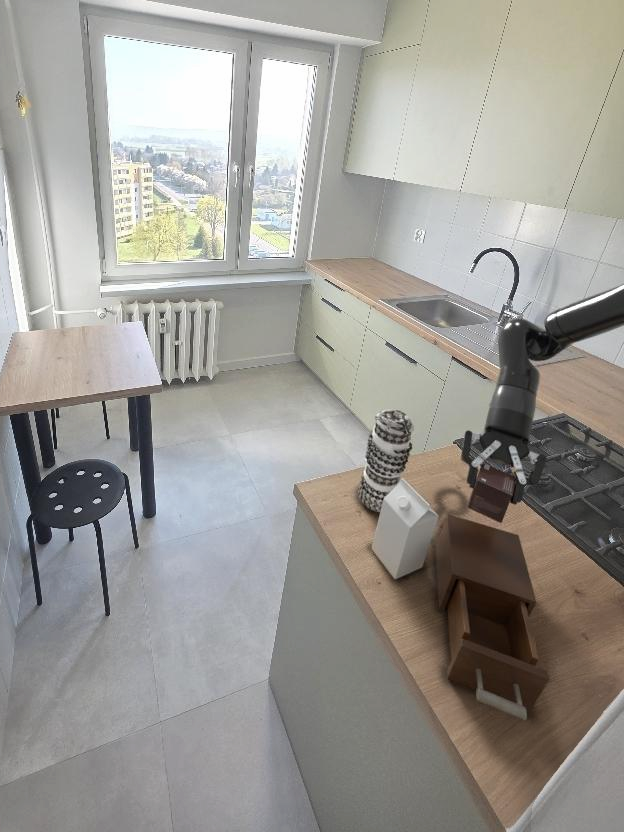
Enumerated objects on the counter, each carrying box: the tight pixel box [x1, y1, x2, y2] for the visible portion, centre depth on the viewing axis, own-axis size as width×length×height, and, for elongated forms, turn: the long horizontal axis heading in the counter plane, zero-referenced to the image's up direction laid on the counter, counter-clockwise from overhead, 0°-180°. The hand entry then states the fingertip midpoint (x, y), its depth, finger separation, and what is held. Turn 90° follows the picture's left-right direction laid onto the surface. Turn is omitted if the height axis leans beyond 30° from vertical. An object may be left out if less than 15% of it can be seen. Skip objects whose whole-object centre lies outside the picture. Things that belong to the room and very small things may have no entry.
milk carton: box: [371, 477, 440, 580], centre depth 81 cm, size 7×7×19 cm
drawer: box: [446, 578, 551, 721], centre depth 66 cm, size 17×11×9 cm
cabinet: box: [435, 513, 537, 618], centre depth 78 cm, size 14×13×11 cm
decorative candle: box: [357, 408, 416, 513], centre depth 94 cm, size 9×9×25 cm
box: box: [467, 462, 516, 524], centre depth 80 cm, size 6×6×7 cm
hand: (492, 495), depth 79 cm, fingers closed on box, 6 cm apart
